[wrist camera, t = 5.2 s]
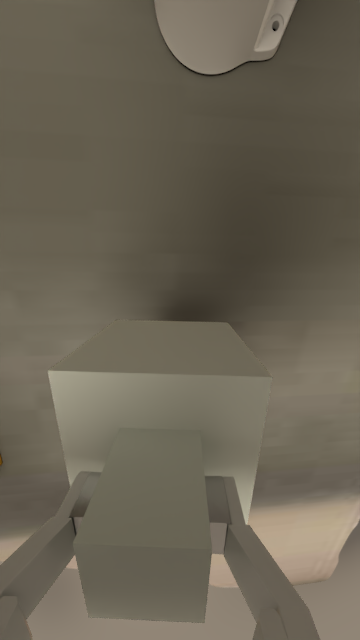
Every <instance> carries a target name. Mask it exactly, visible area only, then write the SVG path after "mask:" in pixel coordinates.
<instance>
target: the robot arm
mask: <svg viewBox="0 0 360 640" xmlns="http://www.w3.org/2000/svg"><path fill="white" fill-rule="evenodd" d="M154 1H155V10H156V16H157V20H158V24H159V27H160V30H161V33H162V35H163V38H164V40H165V42H166V44H167V45H168V47H169V49H170V50H171V52H172V53H173V54H174V56H175V57H176V58H177V59H178V60H179V61H180V62H181V63H182V64H184V65H185V66H187V67H188V68H190V69H192V70H194V71H196V72H199V73H203V74H219V73H224V72H227V71H229V70H231V69H233V68H235V67H237V66H239V65H240V64H242V63H244V62H247V61H260V60H267V59H270V58H271V57H273V56H274V54H275V53H276V51H277V49H278V47H279V44H280V42H281V39H282V37H283V34H284V32H285V30H286V27H287V25H288V22H289V20H290V17H291V15H292V13H293V10H294V8H295V5H296V3H297V1H298V0H154ZM272 28H274V29H276V31H273V29H272ZM101 473H102V472H92V471H80V472H79V473H78V475H77V476H76V478H75V480H74V482H73V483H72V485H71V487H70V489H69V491H68V493H67V495H66V497H65V499H64V501H63V503H62V504H61V506H60V508H59V510H58V512H57V514H56V516H55V517H51V518H50V519H49V520H48V521H47V522H46V523H45V524H43V525H42V526H41V527H40V528H39V529H38V530H37V531H36V532H35V533H34V534H33V535H32V536H31V537H30V538H29V539H28V540H27V541H26V542H25V543H23V544H22V545H21V546H20V547H19V548H18V549H17V550H16V551H15V552H14V553H13V554H12V555H11V556H10V557H9V558H8V559H7V560H6V561H5V562H3V563H2V564H1V565H0V640H32V634H31V631H30V629H29V626H28V624H27V621H26V619H27V618H28V617H29V615H30V614H31V613H32V611H33V610H34V609H35V607H36V606H37V605H38V603H39V602H40V601H41V599H42V598H43V597H44V595H45V594H46V593H47V591H48V590H49V588H50V587H51V586H52V585H53V583H54V582H55V580H56V579H57V578H58V576H59V575H60V574H61V572H62V571H63V570H64V568H65V567H66V566H67V564H68V563H69V562H70V560H71V559H72V558H73V556H74V555H75V551H74V547H73V542H74V539H75V537H76V535H77V532H78V530H79V527H80V525H81V522H82V520H83V517H84V515H85V512H86V510H87V507H88V505H89V502H90V500H91V498H92V495H93V493H94V490H95V488H96V485H97V483H98V480H99V478H100V475H101ZM205 484H206V494H207V504H208V514H209V524H210V534H211V544H212V554H224V557H225V559H226V561H227V563H228V565H229V567H230V569H231V572H232V574H233V576H234V578H235V580H236V582H237V584H238V586H239V588H240V590H241V592H242V594H243V596H244V598H245V600H246V602H247V604H248V606H249V608H250V610H251V612H252V614H253V616H254V619H255V620H256V623H257V624H256V628H255V632H254V636H253V640H320V638H319V635H318V633H317V630H316V627H315V624H314V622H313V619H312V616H311V614H310V611H309V609H308V607H307V606H306V604H305V603H304V601H303V600H302V599H301V597H300V596H299V594H298V593H297V592H296V590H295V589H294V588H293V586H292V585H291V583H290V582H289V580H288V579H287V577H286V576H285V575H284V573H283V572H282V570H281V569H280V568H279V566H278V565H277V563H276V562H275V561H274V559H273V558H272V556H271V555H270V553H269V552H268V551H267V549H266V548H265V546H264V545H263V544H262V542H261V541H260V539H259V538H258V537H257V535H256V534H255V532H254V531H253V530H252V528H251V527H250V525H246V523H245V519H244V515H243V511H242V507H241V503H240V499H239V495H238V491H237V487H236V483H235V479H234V478H233V477H227V476H205Z"/></svg>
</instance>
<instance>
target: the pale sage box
mask: <svg viewBox="0 0 360 640" xmlns="http://www.w3.org/2000/svg"><path fill="white" fill-rule="evenodd" d="M48 376H49V381H50V386H51V391H52V396H53V401H54V406H55V411H56V417H57V422H58V427H59V432H60V437H61V442H62V447H63V452H64V457H65V463H66V468H67V473H68V478H69V483H70V487H71V485H72V483H73V482H74V480H75V478H76V476H77V475H78V473H79V472H80V471H92V472H102V473H101V475H100V478H99V480H98V483H97V485H96V488H95V490H94V493H93V495H92V498H91V500H90V502H89V505H88V507H87V510H86V512H85V515H84V517H83V520H82V522H81V525H80V527H79V530H78V532H77V535H76V537H75V539H74V542H73V547H74V551H75V556H76V561H77V565H78V570H79V575H80V579H81V584H82V589H83V593H84V598H85V602H86V607H87V612H88V617H90V618H91V617H92V618H111V619H131V620H151V621H171V622H172V621H173V622H192V623H204V622H205V613H206V603H207V593H208V584H209V574H210V565H211V555H212V544H211V534H210V524H209V514H208V504H207V494H206V484H205V476H227V477H233V478H234V479H235V483H236V487H237V491H238V495H239V499H240V503H241V507H242V511H243V515H244V519H245V523H246V525H247V522H248V517H249V511H250V505H251V499H252V494H253V488H254V482H255V476H256V471H257V465H258V459H259V453H260V448H261V442H262V436H263V430H264V425H265V419H266V413H267V407H268V402H269V396H270V390H271V384H272V379H273V377H272V376H271V374H270V373H269V372H268V371H267V369H266V368H265V367H264V366H263V365H262V363H261V362H260V361H259V360H258V359H257V357H256V356H255V355H254V354H253V353H252V351H251V350H250V349H249V348H248V346H247V345H246V344H245V343H244V342H243V340H242V339H241V338H240V337H239V336H238V334H237V333H236V332H235V331H234V330H233V328H232V327H231V326H230V325H229V323H228V322H189V321H147V320H115V321H114V322H113V323H111V324H110V325H109V326H107V327H106V328H105V329H103V330H102V331H101V332H99V333H98V334H96V335H95V336H94V337H92V338H91V339H90V340H88V341H87V342H86V343H84V344H83V345H82V346H80V347H79V348H78V349H76V350H75V351H74V352H72V353H71V354H69V355H68V356H67V357H65V358H64V359H63V360H61V361H60V362H59V363H57V364H56V365H55V366H53V367H52V368H51V369H49V370H48Z"/></svg>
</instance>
